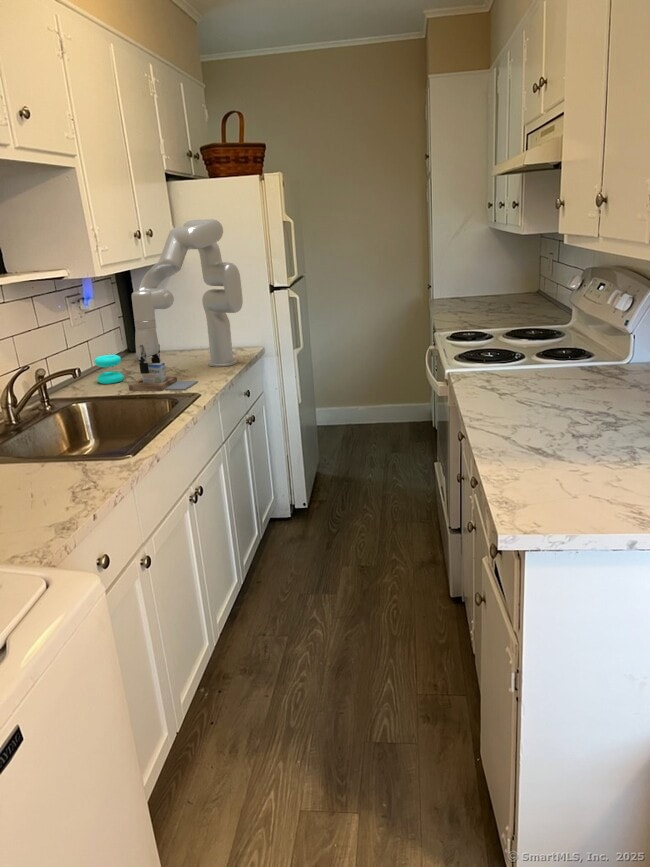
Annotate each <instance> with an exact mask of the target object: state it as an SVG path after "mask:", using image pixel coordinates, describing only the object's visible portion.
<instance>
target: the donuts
mask: <svg viewBox="0 0 650 867" xmlns="http://www.w3.org/2000/svg"><path fill="white" fill-rule="evenodd" d="M121 361H122V357H121V356H120V355H118V354H106V355H105V354H104V355H100V356H97V357H95V359H94V361H93V362H94V364H95V365H96V366H97V367H99V368H112V367H115V366H118V365H119V364H120V363H121ZM124 377H125V375H124V374H123V373H122V372H119V371H115V370H114V371H113V370H112V371H109V370H108V371H104V372H101V373H99V375H97V380H96V381H97V382H98V383H99V384H102V385H103V384H104V385H111V384H112V385H113V384H117V383H120V382H122V381H123V380H124Z"/></svg>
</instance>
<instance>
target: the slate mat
mask: <svg viewBox="0 0 650 867" xmlns="http://www.w3.org/2000/svg"><path fill="white" fill-rule="evenodd" d="M198 383H199V381H198V380H177V382H175V383H174V384H172V385H170V386H169V387H167V388H165V389H164V390H165V391H187V390H189V389H190V388H191V387H193V386H195V385H196V384H198Z"/></svg>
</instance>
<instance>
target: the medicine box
mask: <svg viewBox="0 0 650 867" xmlns="http://www.w3.org/2000/svg"><path fill="white" fill-rule="evenodd" d="M147 363H148V368H149V373H148V374H141V377H142V378H143V383H163V382H164V381H166V377H167V373H166V364H165V362H160V363H152V362H147ZM142 378H141V379H142Z"/></svg>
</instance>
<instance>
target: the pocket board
mask: <svg viewBox="0 0 650 867" xmlns="http://www.w3.org/2000/svg"><path fill="white" fill-rule="evenodd" d="M177 381H178V376H166V381H164V382H163V383H143V378H140V379H138V380H136V381H134V382H132V383H130V384H129V385H128V390H129V391H131V392H133V391H134V392H135V391H140V392H141V391H142V392H143V391H145V392H149V391H150V392H156V391H157V392H162V391H164V390H165V388H167V387H169V386H170V385H172V384H174V383H175V382H177Z"/></svg>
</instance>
